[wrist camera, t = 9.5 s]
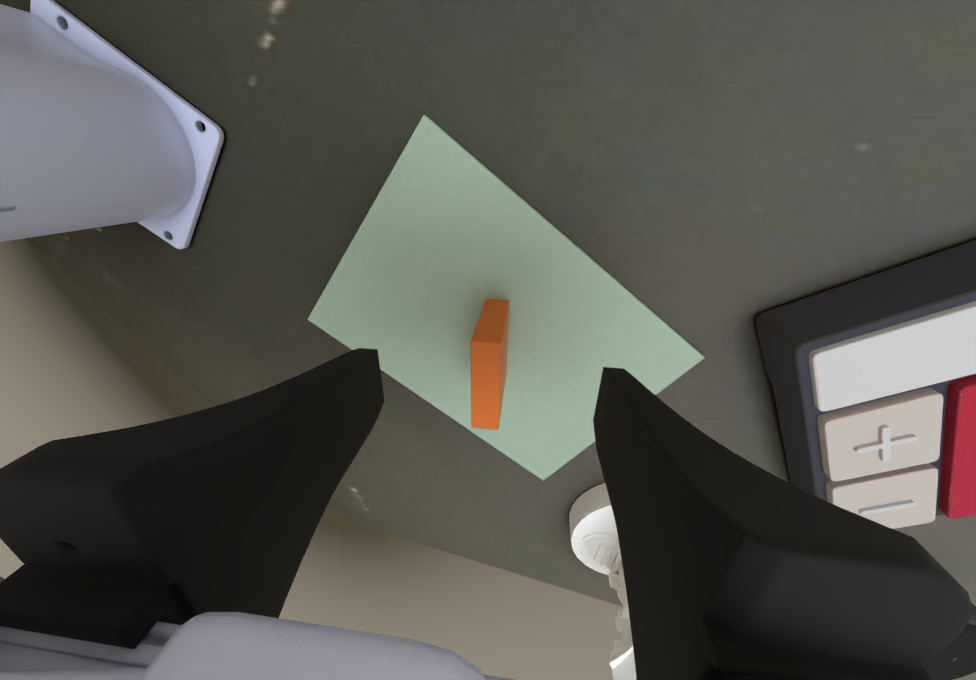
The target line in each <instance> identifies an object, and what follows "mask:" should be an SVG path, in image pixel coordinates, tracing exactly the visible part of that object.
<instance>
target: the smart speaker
mask: <svg viewBox="0 0 976 680" xmlns="http://www.w3.org/2000/svg"><path fill="white" fill-rule="evenodd" d="M923 668H924V669H925V670H926V671H927V673H928V674H929V675H930V677H931V678H932V679H933V680H952V679H956V678H960V677H963V676H966V675H969V674H971V673H974V672H976V607H975V606H974V605H973V604H972V611H971V615H970V619H969V622H968V625H967V626H966V627H965V629H964V630H963V631H962V632H961V633H960V635H959V636H958V637H957V638H956V639H954V640H953V641H952V642H951V643H950V644H949V645H947V646H946V647H945V648H944V649H943V650H942V651H940V652H939V653H938V654H937V655H936V656H935V657H933V658H932V659H931V660H930V661H929V662H928V663H926V664H925V665H924V666H923Z"/></svg>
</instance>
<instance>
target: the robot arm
mask: <svg viewBox="0 0 976 680" xmlns="http://www.w3.org/2000/svg"><path fill="white" fill-rule="evenodd" d="M66 21H67V22H66ZM67 23H68V26H67ZM202 123H204V125H205V131H204V130H203V128H202ZM223 141H224V134H223V131H222V129H221V128H220V127H219V126H218V125H217V124H216V123H214V122H213V121H212V120H210V119H209V118H208V117H206V116H205V115H204V114H203V113H201V112H200V111H199V110H197V109H196V108H195V107H193V106H192V105H191V104H189V103H188V102H187V101H185V100H184V99H183V98H181V97H180V96H179V95H177V94H176V93H175V92H174V91H172V90H171V89H170V88H168V87H167V86H166V85H164V84H163V83H162V82H160V81H159V80H158V79H156V78H155V77H154V76H152V75H151V74H150V73H148V72H147V71H146V70H145V69H143V68H142V67H141V66H139V65H138V64H137V63H135V62H134V61H133V60H131V59H130V58H129V57H127V56H126V55H125V54H123V53H122V52H121V51H119V50H118V49H117V48H116V47H114V46H113V45H112V44H110V43H109V42H108V41H106V40H105V39H104V38H102V37H101V36H100V35H98V34H97V33H96V32H94V31H93V30H92V29H90V28H89V27H88V26H87V25H85V24H84V23H83V22H81V21H80V20H79V19H77V18H76V17H75V16H73V15H72V14H71V13H69V12H68V11H67V10H65V9H64V8H63V7H61V6H60V5H59V4H58V3H56V2H55V1H54V0H31V7H30V13H29V12H26V11H22V10H19V9H16V8H12V7H9V6H6V5H2V4H0V242H4V241H10V240H17V239H24V238H30V237H37V236H44V235H50V234H57V233H64V232H71V231H77V230H84V229H91V228H97V227H104V226H111V225H117V224H124V223H131V222H138V223H139V224H141V225H142V226H144V227H145V228H147V229H148V230H150V231H151V232H153V233H154V234H156V235H157V236H159V237H160V238H162V239H163V240H165V241H166V242H168V243H169V244H171V245H172V246H174V247H175V248H177V249H184V248H187V247H188V246H189V244H190V241H191V238H192V235H193V232H194V229H195V226H196V223H197V220H198V217H199V214H200V211H201V208H202V205H203V202H204V199H205V196H206V193H207V190H208V187H209V184H210V181H211V178H212V175H213V172H214V169H215V166H216V162H217V159H218V156H219V153H220V150H221V147H222V144H223ZM170 233H171V234H172V236H173V237H172V236H171V235H170ZM383 403H384V394H383V387H382V379H381V372H380V364H379V356H378V349H366V348H358V349H355V350H353V351H350V352H348V353H345V354H343V355H341V356H339V357H337V358H334V359H332V360H330V361H328V362H326V363H324V364H322V365H320V366H318V367H315V368H313V369H311V370H309V371H307V372H305V373H303V374H300V375H298V376H296V377H293V378H291V379H289V380H286V381H284V382H282V383H280V384H277V385H275V386H273V387H270V388H268V389H265V390H262V391H260V392H257V393H255V394H252V395H249V396H246V397H243V398H240V399H237V400H234V401H231V402H228V403H225V404H222V405H218V406H215V407H211V408H208V409H204V410H201V411H198V412H194V413H191V414H187V415H183V416H179V417H175V418H171V419H167V420H162V421H159V422H154V423H149V424H144V425H139V426H135V427H130V428H124V429H119V430H114V431H108V432H102V433H96V434H90V435H85V436H78V437H72V438H66V439H60V440H53V441H50V442H48V443H46V444H44V445H41V446H40V447H37V448H36V449H34V450H32V451H31V452H29V453H27V454H25V455H24V456H22V457H20V458H19V459H17V460H15V461H13V462H11V463H10V464H8V465H6V466H4V467H3V468H1V469H0V538H1V539H2V540H3V541H4V543H5V544H6V545H7V546H8V547H9V548H10V549H11V550H12V551H13V552H14V553H15V555H16V556H17V557H18V558H19V559H20V560H21V561H22V562H23V563H25V564H24V565H23V566H21V567H20V568H19V569H18V570H17V571H15V572H14V573H13V574H11V575H10V576H9V577H7V578H6V579H4V578H2V577H0V680H513V679H507V678H501V677H495V676H489V675H483V674H482V673H481V671H480V669H478V668H477V667H475V666H474V665H472V664H471V663H469V662H468V661H466V660H465V659H463V658H462V657H460V656H459V655H457V654H456V653H454V652H453V651H450V650H447V649H444V648H440V647H436V646H433V645H430V644H427V643H423V642H420V641H416V640H413V639H407V638H400V637H394V636H388V635H381V634H375V633H369V632H362V631H355V630H350V629H343V628H336V627H330V626H324V625H318V624H311V623H305V622H299V621H292V620H286V619H280V618H279V615H280V612H281V610H282V607H283V605H284V602H285V600H286V597H287V595H288V592H289V590H290V588H291V585H292V582H293V580H294V578H295V575H296V573H297V571H298V568H299V566H300V563H301V561H302V559H303V556H304V554H305V552H306V550H307V548H308V545H309V543H310V541H311V539H312V536H313V534H314V532H315V530H316V527H317V525H318V523H319V521H320V519H321V517H322V515H323V513H324V511H325V509H326V507H327V505H328V502H329V500H330V498H331V496H332V495H333V493H334V491H335V489H336V487H337V486H338V484H339V482H340V480H341V479H342V477H343V476H344V474H345V472H346V471H347V469H348V468H349V466H350V464H351V463H352V461H353V459H354V458H355V456H356V455H357V453H358V451H359V450H360V448H361V447H362V445H363V443H364V442H365V440H366V438H367V437H368V435H369V433H370V432H371V430H372V428H373V426H374V424H375V422H376V420H377V418H378V415H379V413H380V410H381V408H382V405H383ZM593 424H594V433H595V441H596V449H597V453H598V457H599V461H600V465H601V469H602V473H603V476H604V480H605V484H606V488H607V491H608V495H609V499H610V503H611V507H612V510H613V514H614V519H615V523H616V528H617V533H618V539H619V546H620V552H621V559H622V565H623V572H624V580H625V587H626V594H627V601H628V609H629V617H630V626H631V634H632V642H633V651H634V659H635V669H636V679H637V680H933V679H932V678H931V677H930V675H929V674H928V673H927V671H926V670H925V669H924V668H923V666H924V665H925V664H926V663H928V662H929V661H930V660H931V659H932V658H933V657H935V656H936V655H937V654H938V653H939V652H940V651H942V650H943V649H944V648H945V647H946V646H947V645H949V644H950V643H951V642H952V641H953V640H954V639H956V638H957V637H958V636H959V635H960V633H961V632H962V631H963V630H964V629H965V627H966V626H967V625H968V622H969V619H970V615H971V611H972V603H971V601H970V598H969V595H968V592H967V591H966V590H965V589H964V588H963V587H962V586H961V585H960V584H959V583H958V582H957V581H956V580H955V579H954V578H953V577H952V576H951V575H950V574H949V573H948V572H947V571H946V570H945V569H944V568H943V567H942V566H941V565H940V564H939V563H938V562H937V561H936V560H935V559H934V558H933V557H932V556H931V555H930V554H929V553H928V552H927V551H926V550H925V549H924V548H923V547H922V546H921V545H920V544H919V543H918V542H917V541H916V540H915V539H914V538H913V537H911V536H908V535H906V534H903V533H901V532H898V531H896V530H894V529H891V528H889V527H886V526H884V525H882V524H879V523H877V522H874V521H872V520H869V519H867V518H865V517H862V516H860V515H857V514H855V513H853V512H850V511H848V510H845V509H843V508H841V507H838V506H836V505H834V504H832V503H830V502H827V501H825V500H823V499H821V498H819V497H817V496H815V495H813V494H810V493H808V492H806V491H804V490H802V489H800V488H798V487H796V486H794V485H792V484H790V483H788V482H786V481H784V480H782V479H780V478H778V477H776V476H774V475H772V474H771V473H769V472H767V471H765V470H763V469H761V468H760V467H758V466H756V465H754V464H752V463H751V462H749V461H747V460H745V459H744V458H742V457H740V456H738V455H737V454H735V453H733V452H732V451H730V450H729V449H727V448H726V447H724V446H722V445H721V444H719V443H718V442H716V441H715V440H713V439H712V438H710V437H708V436H707V435H706V434H704V433H703V432H701V431H700V430H698V429H697V428H696V427H694V426H693V425H692V424H690V423H689V422H688V421H686V420H685V419H684V418H682V417H681V416H680V415H678V414H677V413H676V412H675V411H673V410H672V409H671V408H670V407H668V406H667V405H666V404H665V403H664V402H662V401H661V400H660V399H659V398H658V397H656V396H655V395H654V394H653V393H652V392H651V391H650V390H648V389H647V388H646V387H645V386H644V385H643V384H642V383H641V382H639V381H638V380H637V379H636V378H635V377H634V376H633V375H631V374H630V373H629V372H628V371H626V370H625V369H623V368H611V367H603V371H602V377H601V382H600V387H599V392H598V397H597V402H596V408H595V413H594V418H593Z"/></svg>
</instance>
